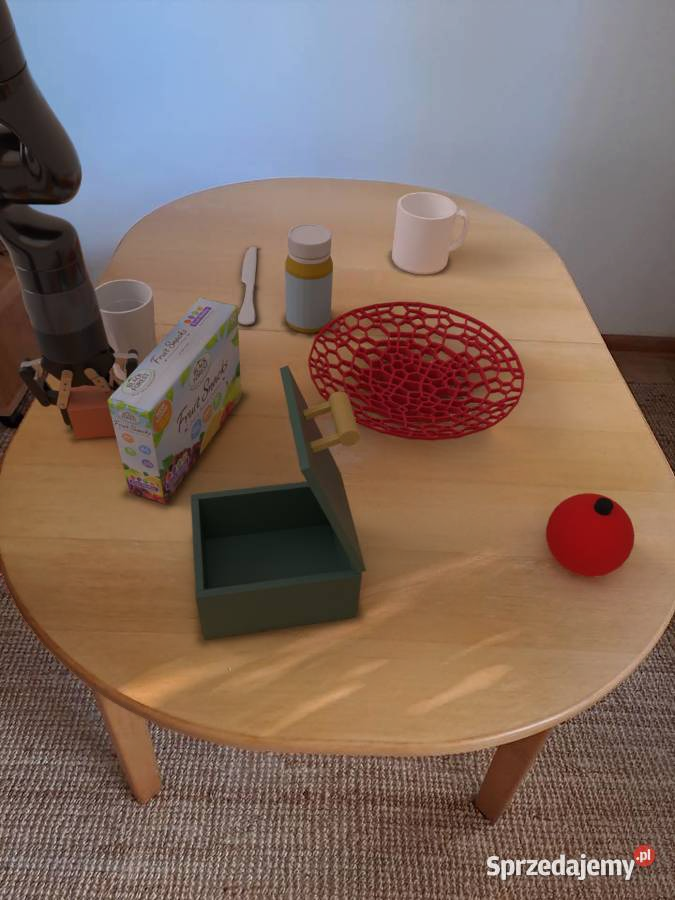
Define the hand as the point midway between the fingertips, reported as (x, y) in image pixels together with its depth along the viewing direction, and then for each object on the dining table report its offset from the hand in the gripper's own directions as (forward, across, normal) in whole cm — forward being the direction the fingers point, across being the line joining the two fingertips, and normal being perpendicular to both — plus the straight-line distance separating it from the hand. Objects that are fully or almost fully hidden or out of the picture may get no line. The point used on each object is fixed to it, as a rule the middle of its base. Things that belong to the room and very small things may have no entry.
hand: (97, 421), depth 87 cm
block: (0, 0, 0) cm, 0 cm away
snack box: (+1, -12, +5) cm, 13 cm away
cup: (+1, -5, -11) cm, 12 cm away
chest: (0, -20, +27) cm, 33 cm away
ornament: (+1, -54, +30) cm, 62 cm away
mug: (+1, -55, -35) cm, 65 cm away
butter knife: (+1, -23, -31) cm, 39 cm away
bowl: (+1, -43, -1) cm, 43 cm away
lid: (-15, -25, +27) cm, 39 cm away
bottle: (+1, -31, -19) cm, 36 cm away
